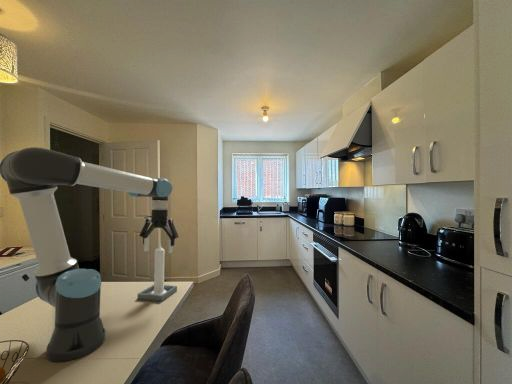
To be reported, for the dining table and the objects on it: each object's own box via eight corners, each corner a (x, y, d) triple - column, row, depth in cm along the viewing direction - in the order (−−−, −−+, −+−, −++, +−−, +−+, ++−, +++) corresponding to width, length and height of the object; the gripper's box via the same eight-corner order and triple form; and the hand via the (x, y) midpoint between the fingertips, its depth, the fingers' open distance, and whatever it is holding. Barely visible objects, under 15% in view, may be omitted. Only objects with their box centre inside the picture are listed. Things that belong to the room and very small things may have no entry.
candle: (162, 296, 111) (163, 244, 112) (148, 296, 111) (149, 244, 112) (168, 291, 118) (169, 242, 119) (155, 290, 118) (156, 241, 119)
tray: (161, 301, 107) (162, 296, 107) (137, 299, 110) (137, 293, 110) (176, 291, 120) (177, 286, 120) (154, 288, 122) (154, 284, 123)
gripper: (186, 209, 117) (184, 251, 116) (143, 208, 122) (141, 248, 121) (178, 209, 110) (176, 254, 109) (132, 208, 115) (131, 251, 114)
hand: (158, 251), depth 115 cm, fingers open, 13 cm apart
